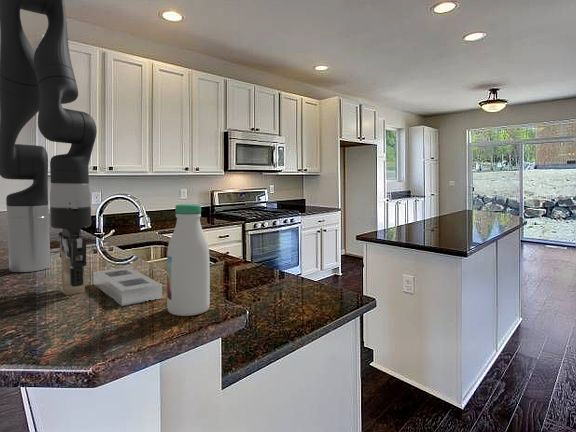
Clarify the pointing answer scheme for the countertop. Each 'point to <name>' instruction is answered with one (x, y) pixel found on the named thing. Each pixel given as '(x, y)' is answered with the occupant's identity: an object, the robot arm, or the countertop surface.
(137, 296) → the white slotted block
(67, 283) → the beech peg
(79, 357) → the countertop surface
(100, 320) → the countertop surface
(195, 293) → the milk bottle
